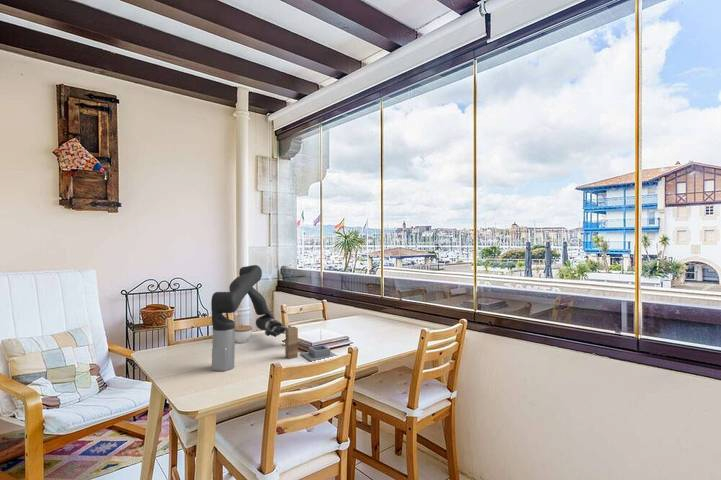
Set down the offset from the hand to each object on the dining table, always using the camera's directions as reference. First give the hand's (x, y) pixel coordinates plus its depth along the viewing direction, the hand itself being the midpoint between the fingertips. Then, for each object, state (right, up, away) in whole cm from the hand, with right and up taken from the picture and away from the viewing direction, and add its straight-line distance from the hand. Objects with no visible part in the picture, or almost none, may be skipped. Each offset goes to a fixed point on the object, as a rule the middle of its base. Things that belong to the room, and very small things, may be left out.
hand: (283, 333), depth 197 cm
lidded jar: (-27, -9, +17) cm, 33 cm away
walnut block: (+5, -9, -10) cm, 14 cm away
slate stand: (+19, -9, -8) cm, 22 cm away
